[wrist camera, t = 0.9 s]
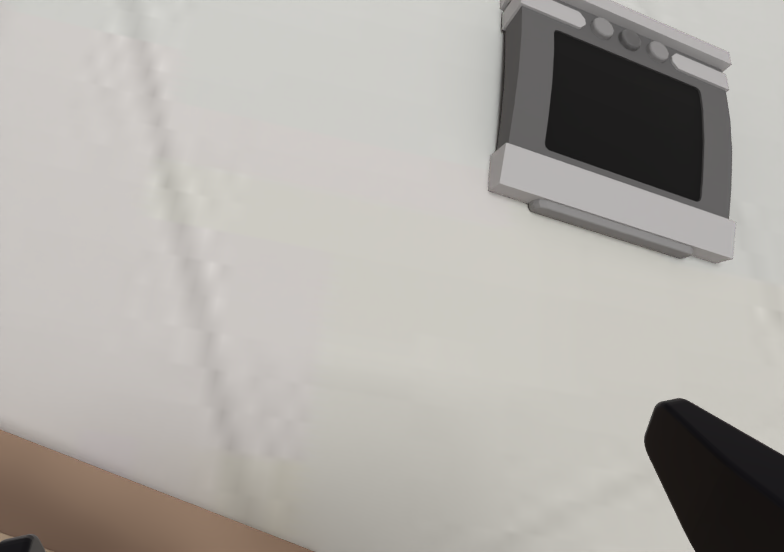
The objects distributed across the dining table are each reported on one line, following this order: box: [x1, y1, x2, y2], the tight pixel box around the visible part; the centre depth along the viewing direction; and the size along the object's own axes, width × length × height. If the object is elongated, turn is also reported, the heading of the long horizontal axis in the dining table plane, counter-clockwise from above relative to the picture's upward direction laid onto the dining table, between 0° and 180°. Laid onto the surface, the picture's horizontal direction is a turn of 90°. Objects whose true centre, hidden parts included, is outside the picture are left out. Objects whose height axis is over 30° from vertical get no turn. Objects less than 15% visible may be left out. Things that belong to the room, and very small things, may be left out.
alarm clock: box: [488, 0, 736, 263], centre depth 43 cm, size 17×5×16 cm
